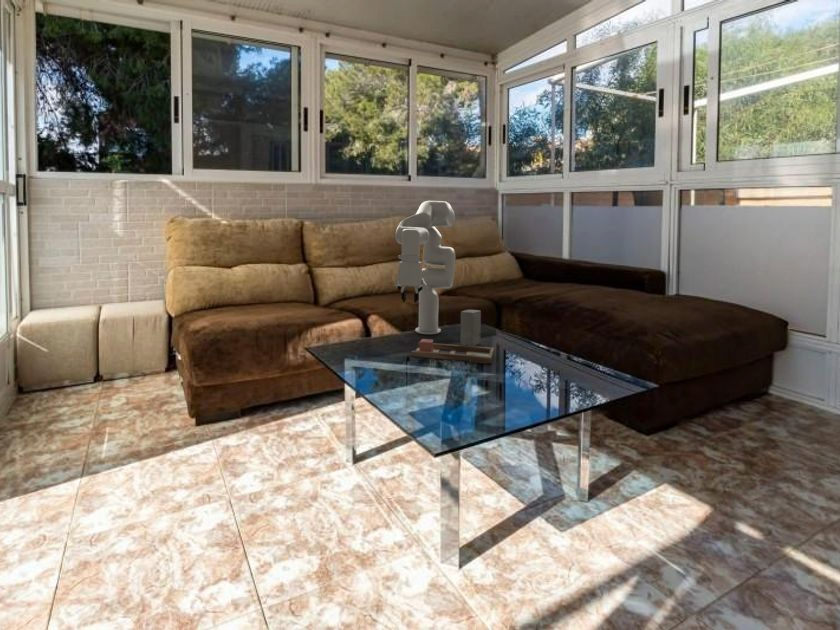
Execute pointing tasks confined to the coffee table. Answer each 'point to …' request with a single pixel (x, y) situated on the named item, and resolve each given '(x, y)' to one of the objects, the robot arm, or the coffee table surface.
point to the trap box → (457, 353)
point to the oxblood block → (426, 345)
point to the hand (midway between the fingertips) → (410, 301)
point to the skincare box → (470, 327)
